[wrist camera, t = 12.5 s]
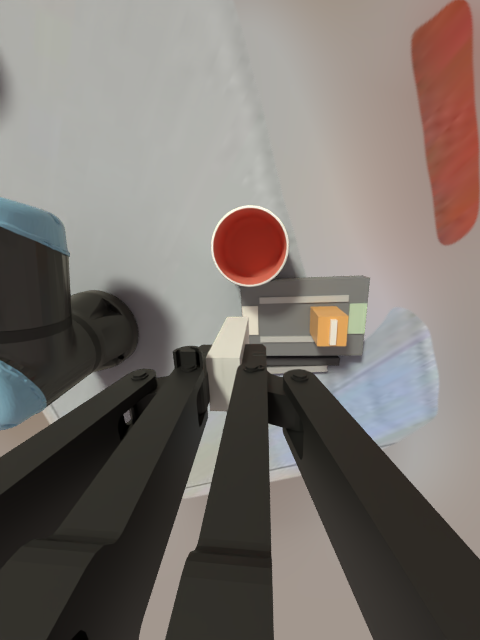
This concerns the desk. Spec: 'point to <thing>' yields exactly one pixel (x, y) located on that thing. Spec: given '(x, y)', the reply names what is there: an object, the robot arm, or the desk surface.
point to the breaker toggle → (328, 326)
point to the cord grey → (284, 368)
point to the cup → (250, 246)
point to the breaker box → (304, 313)
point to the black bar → (303, 360)
